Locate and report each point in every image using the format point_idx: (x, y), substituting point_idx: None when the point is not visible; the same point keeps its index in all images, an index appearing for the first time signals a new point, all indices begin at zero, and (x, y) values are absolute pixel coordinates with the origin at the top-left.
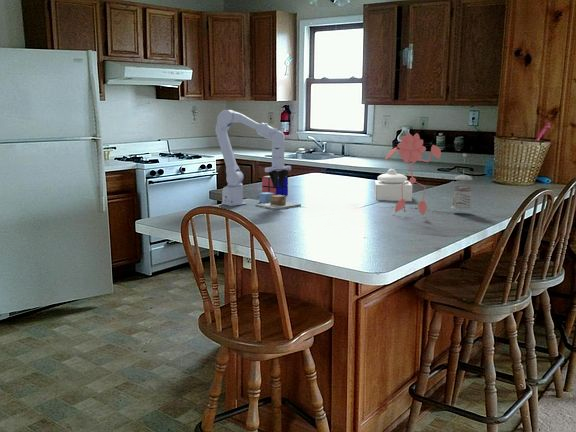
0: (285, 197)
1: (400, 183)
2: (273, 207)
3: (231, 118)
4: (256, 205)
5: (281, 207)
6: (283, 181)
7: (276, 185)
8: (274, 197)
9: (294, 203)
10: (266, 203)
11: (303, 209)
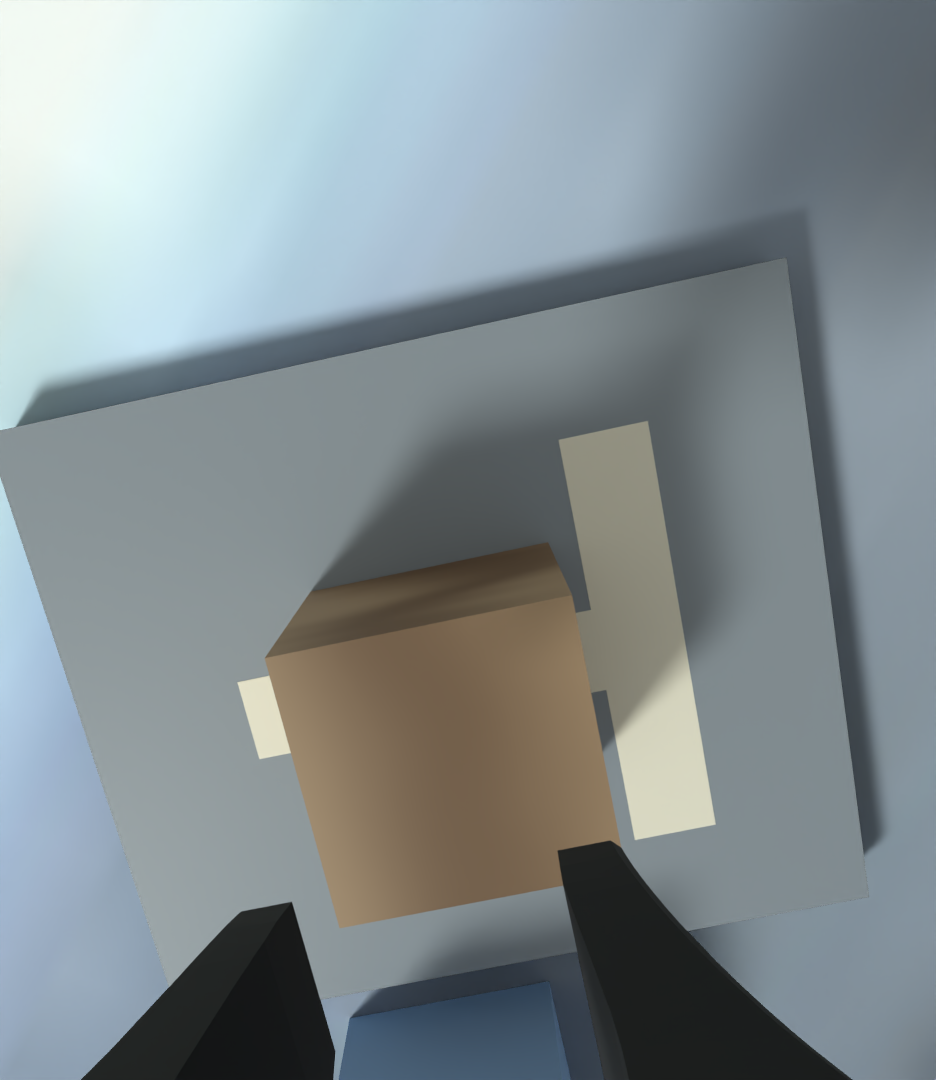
0: (283, 642)
1: None
2: (764, 361)
3: None
4: (855, 860)
5: (584, 302)
6: (162, 1037)
7: (619, 864)
8: (593, 713)
9: (76, 599)
10: None
11: (134, 34)
